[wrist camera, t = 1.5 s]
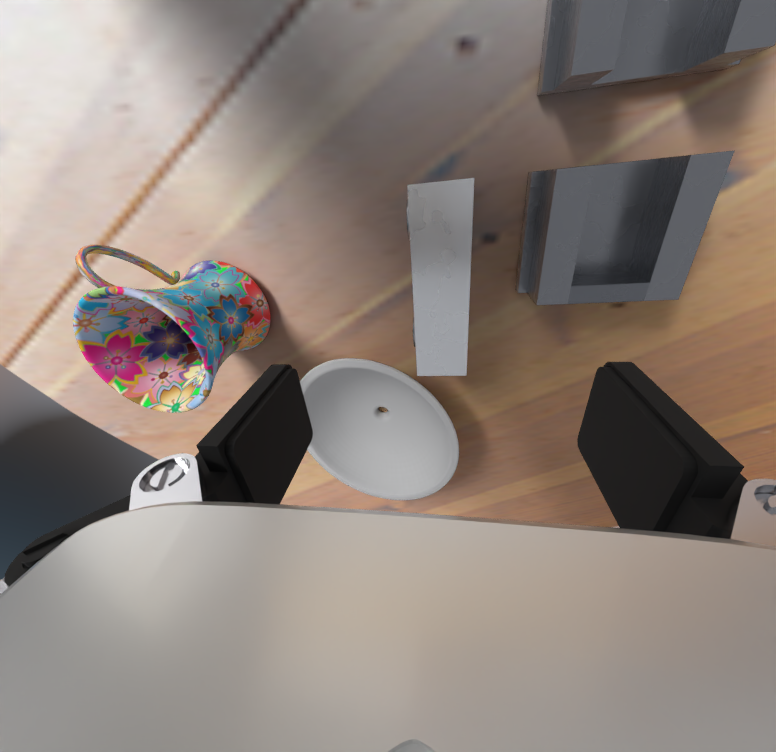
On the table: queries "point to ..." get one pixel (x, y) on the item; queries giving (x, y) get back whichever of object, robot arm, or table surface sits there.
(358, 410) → the dish
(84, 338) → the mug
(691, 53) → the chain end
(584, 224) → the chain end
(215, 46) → the table surface
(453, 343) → the gray trapezoid plate
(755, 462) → the table surface
